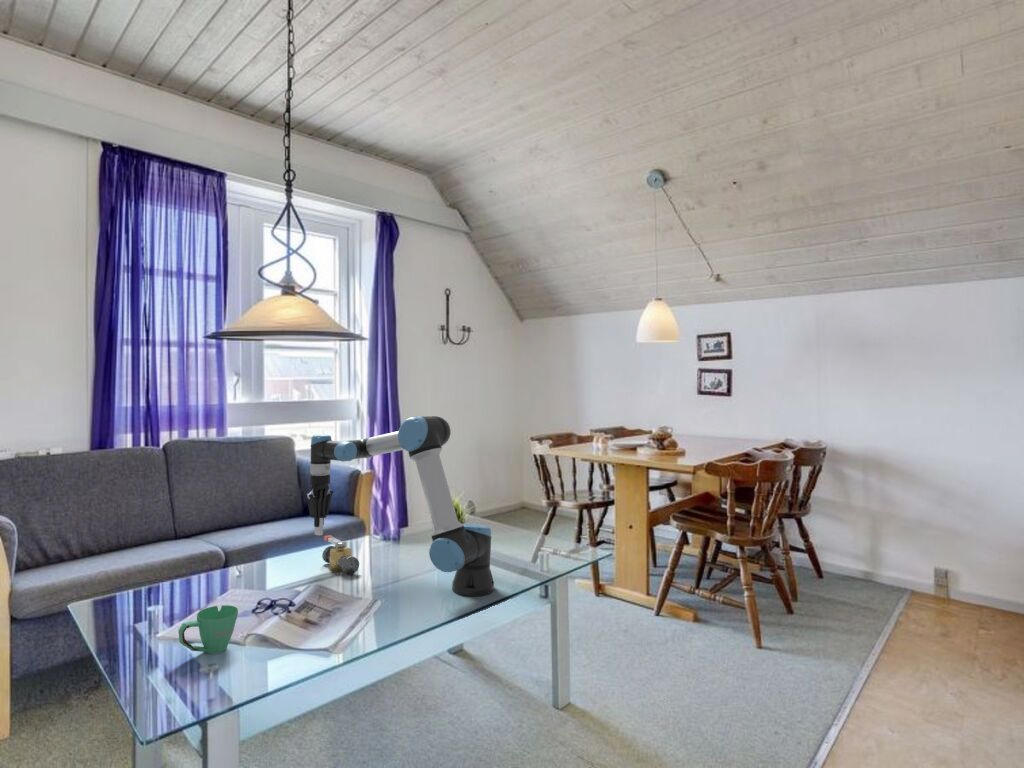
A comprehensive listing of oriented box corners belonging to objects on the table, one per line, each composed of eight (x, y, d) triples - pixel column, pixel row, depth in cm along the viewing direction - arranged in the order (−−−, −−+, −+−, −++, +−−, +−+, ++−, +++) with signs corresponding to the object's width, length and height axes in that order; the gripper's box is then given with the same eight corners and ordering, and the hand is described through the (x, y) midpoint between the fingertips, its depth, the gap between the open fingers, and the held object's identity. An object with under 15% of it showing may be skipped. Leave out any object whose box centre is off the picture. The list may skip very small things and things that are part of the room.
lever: (348, 546, 225) (348, 542, 225) (337, 548, 222) (338, 544, 222) (332, 538, 236) (332, 534, 236) (322, 540, 234) (322, 536, 234)
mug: (224, 638, 160) (225, 602, 160) (243, 648, 154) (245, 611, 154) (168, 657, 148) (170, 618, 148) (187, 669, 142) (189, 628, 142)
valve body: (361, 573, 220) (361, 551, 220) (341, 577, 215) (342, 554, 215) (338, 561, 235) (339, 540, 235) (319, 564, 230) (320, 543, 230)
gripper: (315, 476, 218) (313, 539, 218) (339, 473, 230) (337, 532, 230) (300, 475, 222) (298, 537, 221) (324, 471, 233) (323, 530, 233)
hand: (318, 534), depth 225 cm, fingers closed
